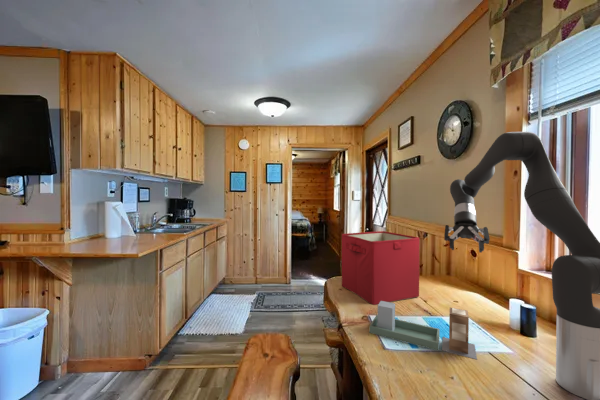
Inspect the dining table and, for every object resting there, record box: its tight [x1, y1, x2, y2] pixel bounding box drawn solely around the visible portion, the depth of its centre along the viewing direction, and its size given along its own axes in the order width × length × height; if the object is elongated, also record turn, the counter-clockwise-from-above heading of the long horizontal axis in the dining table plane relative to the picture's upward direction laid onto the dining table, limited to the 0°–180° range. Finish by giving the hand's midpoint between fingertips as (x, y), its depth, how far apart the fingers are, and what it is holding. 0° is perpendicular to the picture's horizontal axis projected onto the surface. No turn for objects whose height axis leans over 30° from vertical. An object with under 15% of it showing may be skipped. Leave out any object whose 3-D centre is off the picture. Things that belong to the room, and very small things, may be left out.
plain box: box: [377, 301, 396, 331], centre depth 94 cm, size 5×5×9 cm
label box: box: [448, 307, 470, 354], centre depth 83 cm, size 5×6×11 cm
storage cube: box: [341, 230, 420, 306], centre depth 133 cm, size 32×28×29 cm
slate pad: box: [441, 336, 478, 361], centre depth 83 cm, size 9×9×1 cm
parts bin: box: [368, 314, 441, 351], centre depth 91 cm, size 21×10×3 cm, turn 60°
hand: (466, 250), depth 95 cm, fingers open, 8 cm apart
